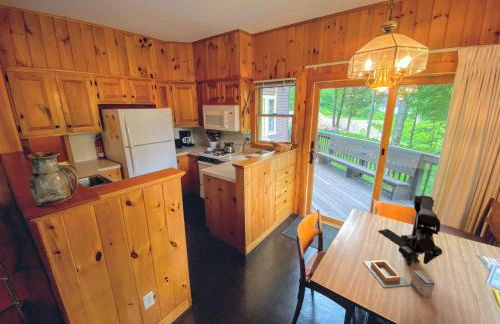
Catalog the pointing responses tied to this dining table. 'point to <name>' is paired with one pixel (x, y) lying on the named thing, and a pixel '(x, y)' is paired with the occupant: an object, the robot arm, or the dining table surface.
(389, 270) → the end holder
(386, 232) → the cell phone
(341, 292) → the dining table surface
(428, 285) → the medicine box
